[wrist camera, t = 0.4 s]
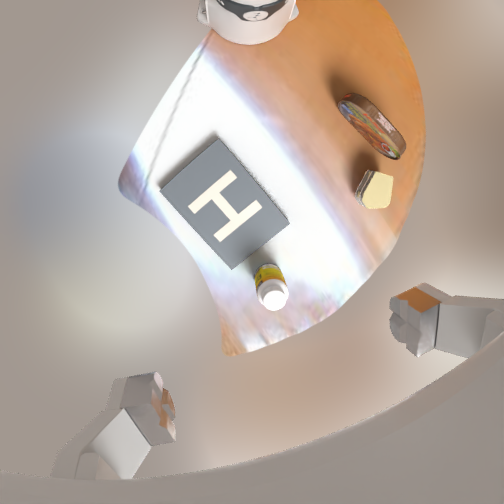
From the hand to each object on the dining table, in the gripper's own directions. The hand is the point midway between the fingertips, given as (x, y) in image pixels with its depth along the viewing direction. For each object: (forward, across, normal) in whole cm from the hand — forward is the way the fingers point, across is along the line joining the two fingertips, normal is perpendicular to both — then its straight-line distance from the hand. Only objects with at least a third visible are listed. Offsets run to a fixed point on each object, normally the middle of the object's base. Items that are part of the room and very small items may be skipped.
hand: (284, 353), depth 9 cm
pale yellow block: (+44, -30, +3) cm, 54 cm away
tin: (+43, -32, -8) cm, 54 cm away
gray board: (+47, -3, +1) cm, 47 cm away
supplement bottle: (+48, -8, +17) cm, 51 cm away
